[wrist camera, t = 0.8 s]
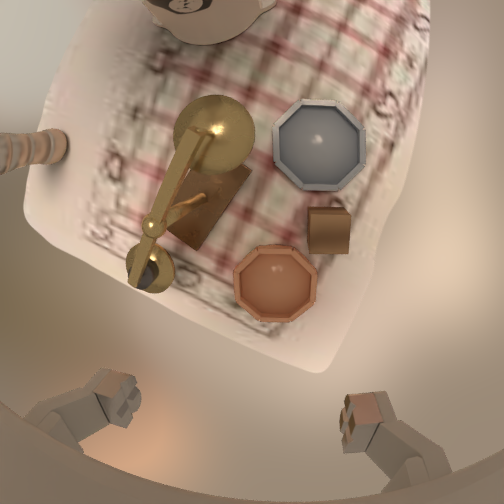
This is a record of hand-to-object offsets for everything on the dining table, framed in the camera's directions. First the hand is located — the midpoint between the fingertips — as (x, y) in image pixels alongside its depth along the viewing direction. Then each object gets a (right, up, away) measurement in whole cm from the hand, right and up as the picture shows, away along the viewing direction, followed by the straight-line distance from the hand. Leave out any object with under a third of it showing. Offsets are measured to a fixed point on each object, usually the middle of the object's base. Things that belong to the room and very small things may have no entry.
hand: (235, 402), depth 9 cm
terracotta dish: (+4, +1, +32) cm, 33 cm away
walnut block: (+11, +9, +28) cm, 32 cm away
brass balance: (-6, +13, +29) cm, 33 cm away
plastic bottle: (-34, +25, +29) cm, 51 cm away
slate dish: (+9, +20, +25) cm, 33 cm away
